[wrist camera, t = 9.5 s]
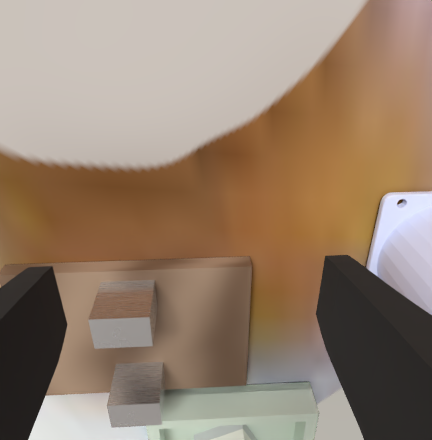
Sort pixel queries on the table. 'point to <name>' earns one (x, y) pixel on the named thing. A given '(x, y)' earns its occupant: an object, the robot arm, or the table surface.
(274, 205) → the table surface
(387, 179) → the table surface
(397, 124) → the table surface
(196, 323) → the clip board
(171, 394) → the tray
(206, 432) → the white and orange block
